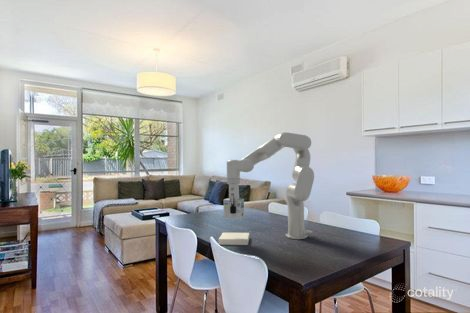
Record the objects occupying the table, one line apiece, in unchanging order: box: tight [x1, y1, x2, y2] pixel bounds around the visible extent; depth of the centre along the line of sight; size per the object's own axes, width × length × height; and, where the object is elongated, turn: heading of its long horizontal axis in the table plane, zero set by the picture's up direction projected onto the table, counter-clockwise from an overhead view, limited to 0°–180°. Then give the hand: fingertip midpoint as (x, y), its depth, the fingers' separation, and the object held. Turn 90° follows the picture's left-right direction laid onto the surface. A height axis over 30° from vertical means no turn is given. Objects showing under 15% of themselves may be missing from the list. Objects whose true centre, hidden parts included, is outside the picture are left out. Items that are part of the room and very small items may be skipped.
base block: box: [218, 232, 250, 246], centre depth 157 cm, size 16×14×3 cm
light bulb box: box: [223, 197, 245, 220], centre depth 157 cm, size 11×7×11 cm, turn 75°
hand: (233, 211), depth 157 cm, fingers closed on light bulb box, 7 cm apart
